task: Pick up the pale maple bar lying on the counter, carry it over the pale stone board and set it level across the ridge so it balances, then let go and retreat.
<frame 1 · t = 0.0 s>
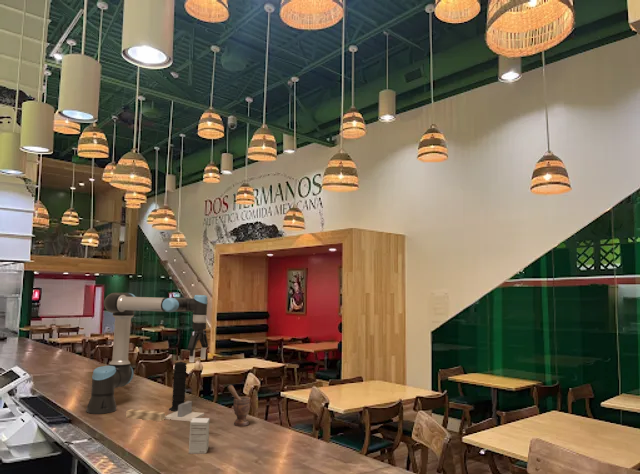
hand: (197, 360, 278), 28 cm above the table, fingers open, 13 cm apart
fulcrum: (184, 417, 264), on the table
maple bar: (145, 419, 258), on the table
handle grip: (178, 409, 281), on the table
supplement box: (198, 451, 208), on the table
mortar and pestle: (238, 425, 251), on the table
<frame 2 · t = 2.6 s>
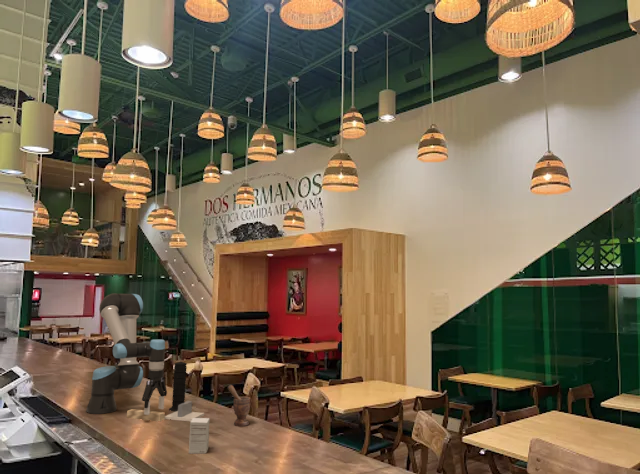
hand: (154, 411, 257), 4 cm above the table, fingers open, 13 cm apart
nothing on the table moved.
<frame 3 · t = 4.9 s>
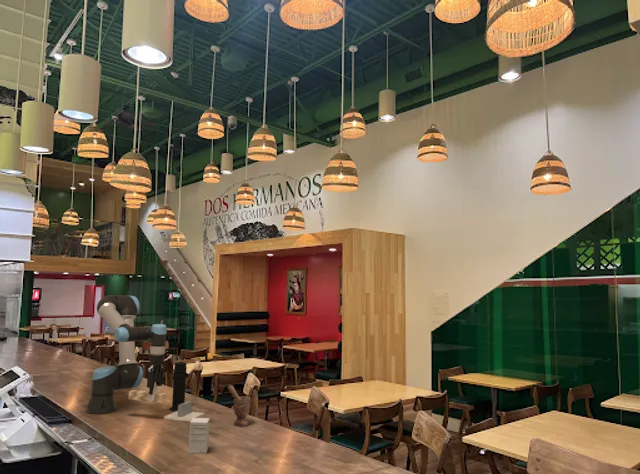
hand: (153, 399, 259), 10 cm above the table, fingers closed on maple bar, 4 cm apart
maple bar: (146, 400, 260), point 9 cm above the table, touching gripper
everything else where it was.
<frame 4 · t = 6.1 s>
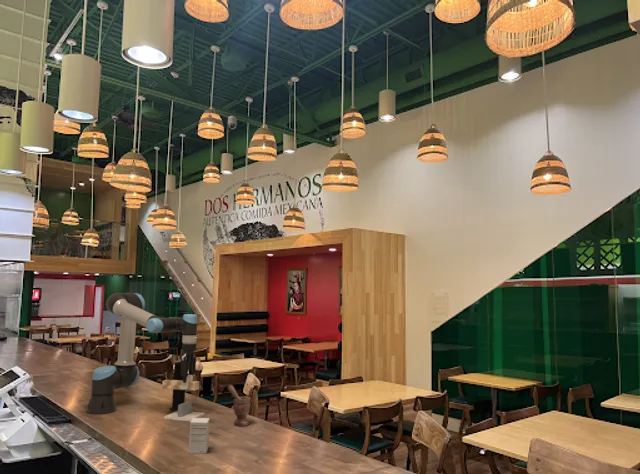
hand: (187, 388, 263), 16 cm above the table, fingers closed on maple bar, 4 cm apart
maple bar: (180, 388, 264), point 15 cm above the table, touching gripper
everything else where it was.
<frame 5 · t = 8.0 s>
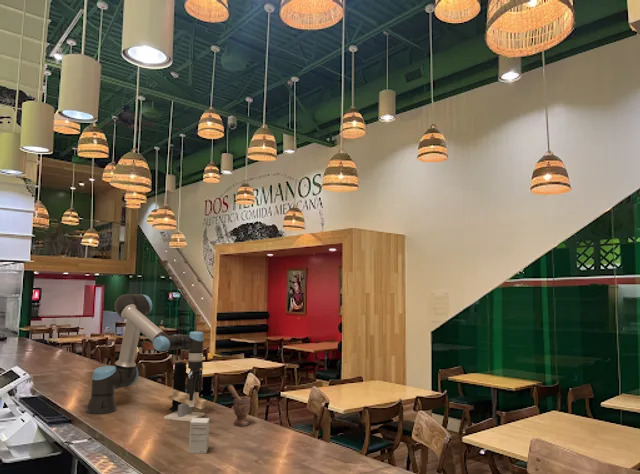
hand: (193, 405, 264), 6 cm above the table, fingers closed on maple bar, 4 cm apart
maple bar: (186, 402, 265), point 7 cm above the table, tilted 13°, touching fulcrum, gripper
everything else where it was.
when the fingers open (6 cm above the table, at t = 8.3 s): maple bar stays where it is, resting on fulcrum.
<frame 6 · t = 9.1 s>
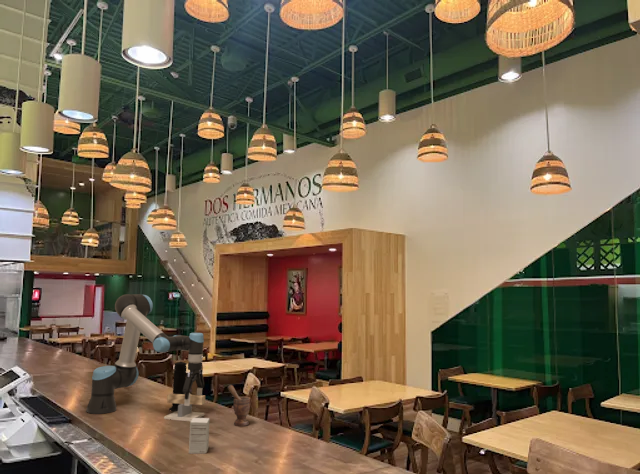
hand: (193, 402, 264), 8 cm above the table, fingers open, 13 cm apart
maple bar: (186, 403, 265), point 7 cm above the table, touching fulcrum
everything else where it was.
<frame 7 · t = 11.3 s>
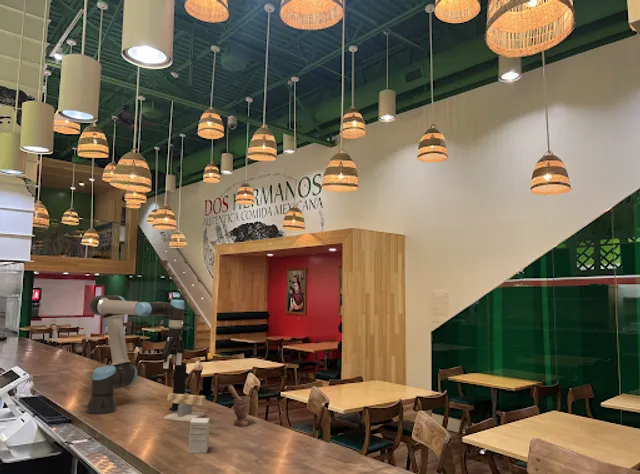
hand: (172, 366, 274), 25 cm above the table, fingers open, 13 cm apart
nothing on the table moved.
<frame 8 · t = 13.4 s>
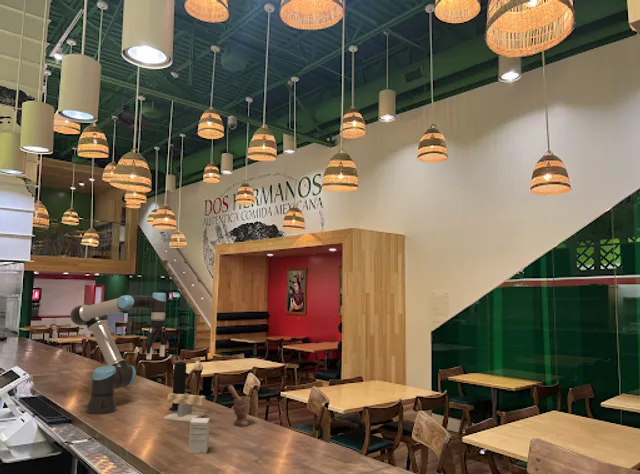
hand: (155, 357, 280), 29 cm above the table, fingers open, 13 cm apart
nothing on the table moved.
at the end: maple bar 0.4 cm off-centre on the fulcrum, point 7.2 cm above the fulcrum's base; maple bar tilted 0°; the gripper is holding nothing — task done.
